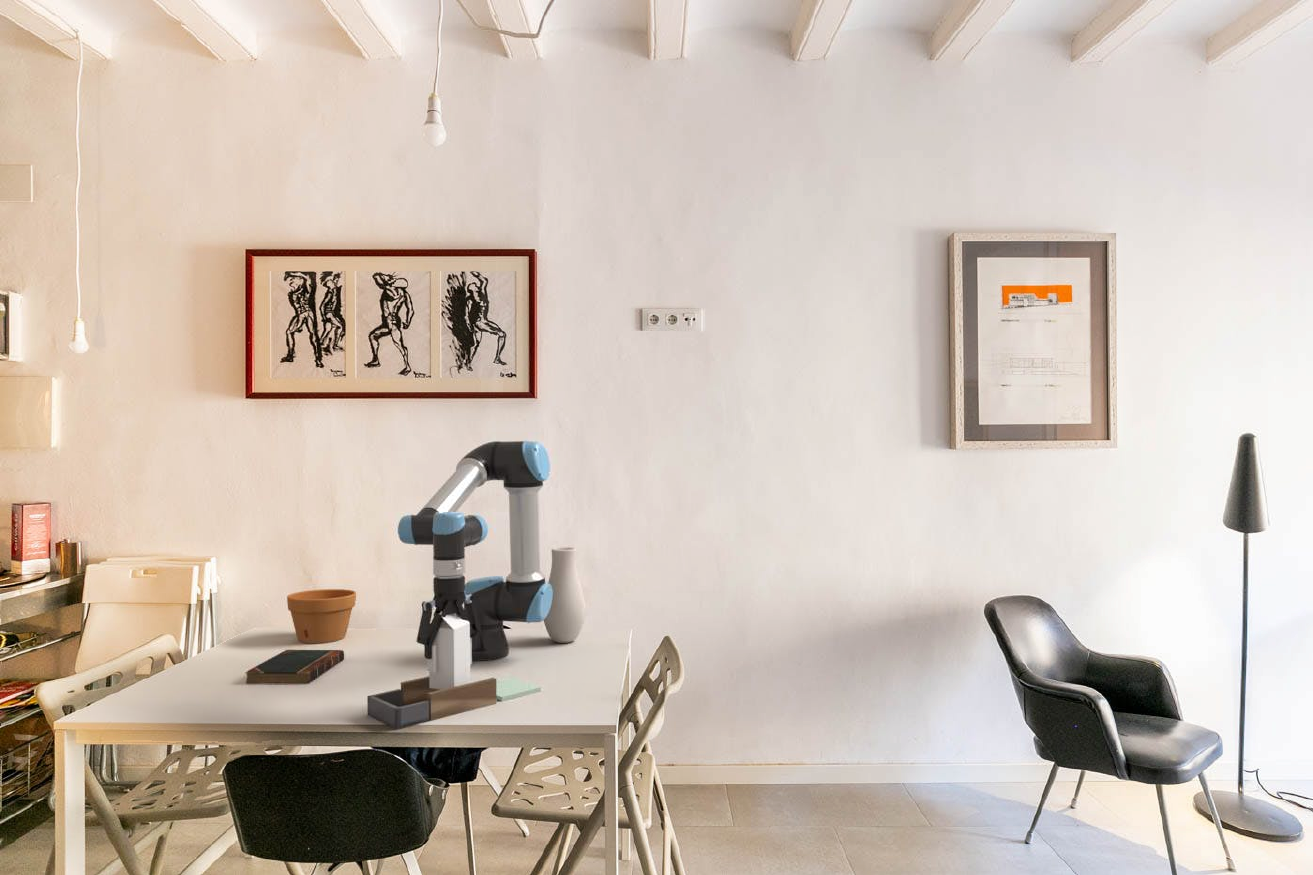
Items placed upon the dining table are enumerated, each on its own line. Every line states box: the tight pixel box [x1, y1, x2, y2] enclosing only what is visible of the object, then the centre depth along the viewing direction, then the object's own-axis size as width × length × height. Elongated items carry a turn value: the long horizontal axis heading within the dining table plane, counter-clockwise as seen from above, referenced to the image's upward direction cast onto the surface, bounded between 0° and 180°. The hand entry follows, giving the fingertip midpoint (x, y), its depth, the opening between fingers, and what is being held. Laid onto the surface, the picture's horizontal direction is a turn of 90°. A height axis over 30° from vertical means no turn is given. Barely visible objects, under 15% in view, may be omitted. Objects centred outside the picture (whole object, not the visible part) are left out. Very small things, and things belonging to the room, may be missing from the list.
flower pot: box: [286, 588, 357, 644], centre depth 274 cm, size 21×21×15 cm
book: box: [245, 649, 345, 685], centre depth 234 cm, size 17×4×25 cm
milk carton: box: [428, 611, 471, 690], centre depth 204 cm, size 7×7×19 cm
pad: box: [496, 677, 542, 702], centre depth 215 cm, size 13×12×1 cm
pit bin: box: [366, 688, 430, 730], centre depth 194 cm, size 14×8×4 cm, turn 45°
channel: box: [400, 675, 497, 721], centre depth 203 cm, size 14×18×6 cm
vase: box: [543, 546, 586, 644], centre depth 270 cm, size 14×14×30 cm
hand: (449, 667), depth 204 cm, fingers closed on milk carton, 9 cm apart
